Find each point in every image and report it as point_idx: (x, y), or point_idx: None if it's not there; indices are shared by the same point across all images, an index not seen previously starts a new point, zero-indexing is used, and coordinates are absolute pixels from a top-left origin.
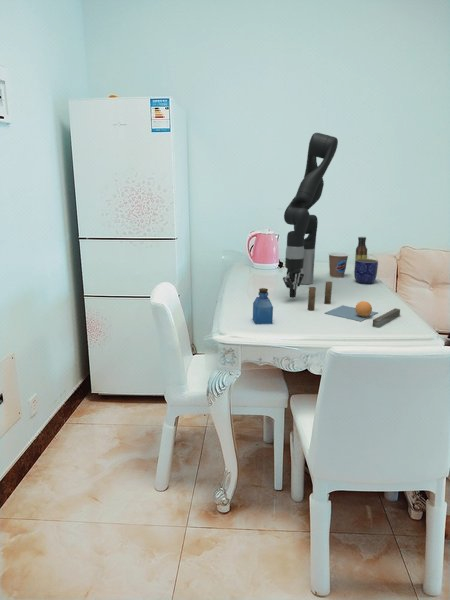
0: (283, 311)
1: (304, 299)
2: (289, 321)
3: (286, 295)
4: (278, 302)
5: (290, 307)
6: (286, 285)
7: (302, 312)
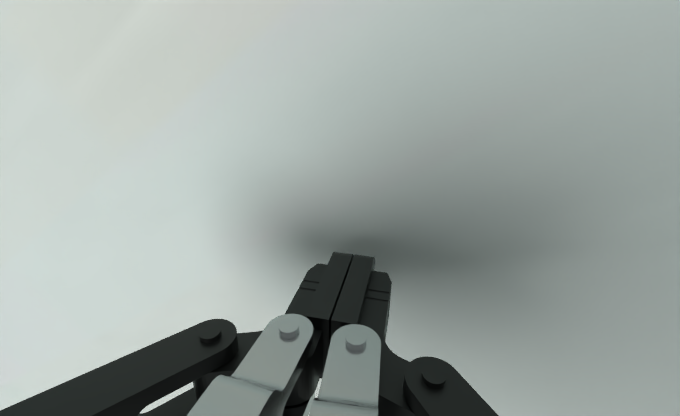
0: (76, 315)
1: (487, 326)
2: (5, 392)
3: (558, 81)
4: (207, 179)
5: (177, 318)
6: (153, 357)
7: (158, 404)
